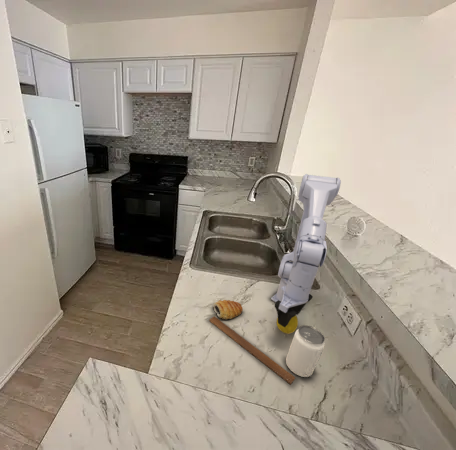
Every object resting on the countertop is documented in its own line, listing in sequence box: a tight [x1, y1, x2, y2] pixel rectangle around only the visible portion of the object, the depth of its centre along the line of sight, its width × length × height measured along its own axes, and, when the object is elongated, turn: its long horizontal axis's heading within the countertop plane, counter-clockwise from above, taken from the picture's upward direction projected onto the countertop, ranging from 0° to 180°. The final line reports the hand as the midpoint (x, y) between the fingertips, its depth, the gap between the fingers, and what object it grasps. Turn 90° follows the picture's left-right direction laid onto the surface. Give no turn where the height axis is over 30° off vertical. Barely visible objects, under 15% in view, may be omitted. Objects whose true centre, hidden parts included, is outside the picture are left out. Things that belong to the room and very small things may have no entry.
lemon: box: [276, 315, 299, 335], centre depth 76 cm, size 6×6×8 cm
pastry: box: [212, 299, 243, 320], centre depth 84 cm, size 9×7×4 cm
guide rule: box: [208, 316, 296, 386], centre depth 72 cm, size 2×26×1 cm, turn 39°
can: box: [285, 324, 326, 378], centre depth 65 cm, size 6×6×12 cm
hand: (288, 318), depth 75 cm, fingers open, 7 cm apart
